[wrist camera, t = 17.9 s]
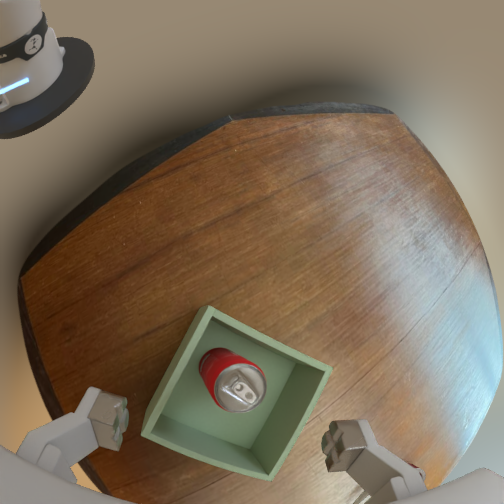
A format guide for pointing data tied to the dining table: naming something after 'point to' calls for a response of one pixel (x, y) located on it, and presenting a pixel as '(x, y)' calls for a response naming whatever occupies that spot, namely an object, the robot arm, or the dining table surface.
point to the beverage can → (232, 380)
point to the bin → (227, 423)
